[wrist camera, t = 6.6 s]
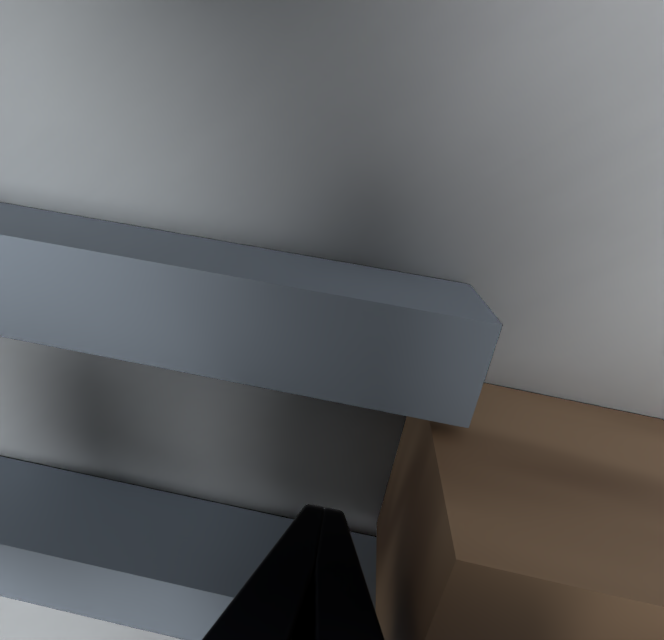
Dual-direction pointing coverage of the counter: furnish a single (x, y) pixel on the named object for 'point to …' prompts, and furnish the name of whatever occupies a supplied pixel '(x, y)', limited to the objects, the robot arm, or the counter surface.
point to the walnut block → (524, 525)
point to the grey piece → (215, 362)
